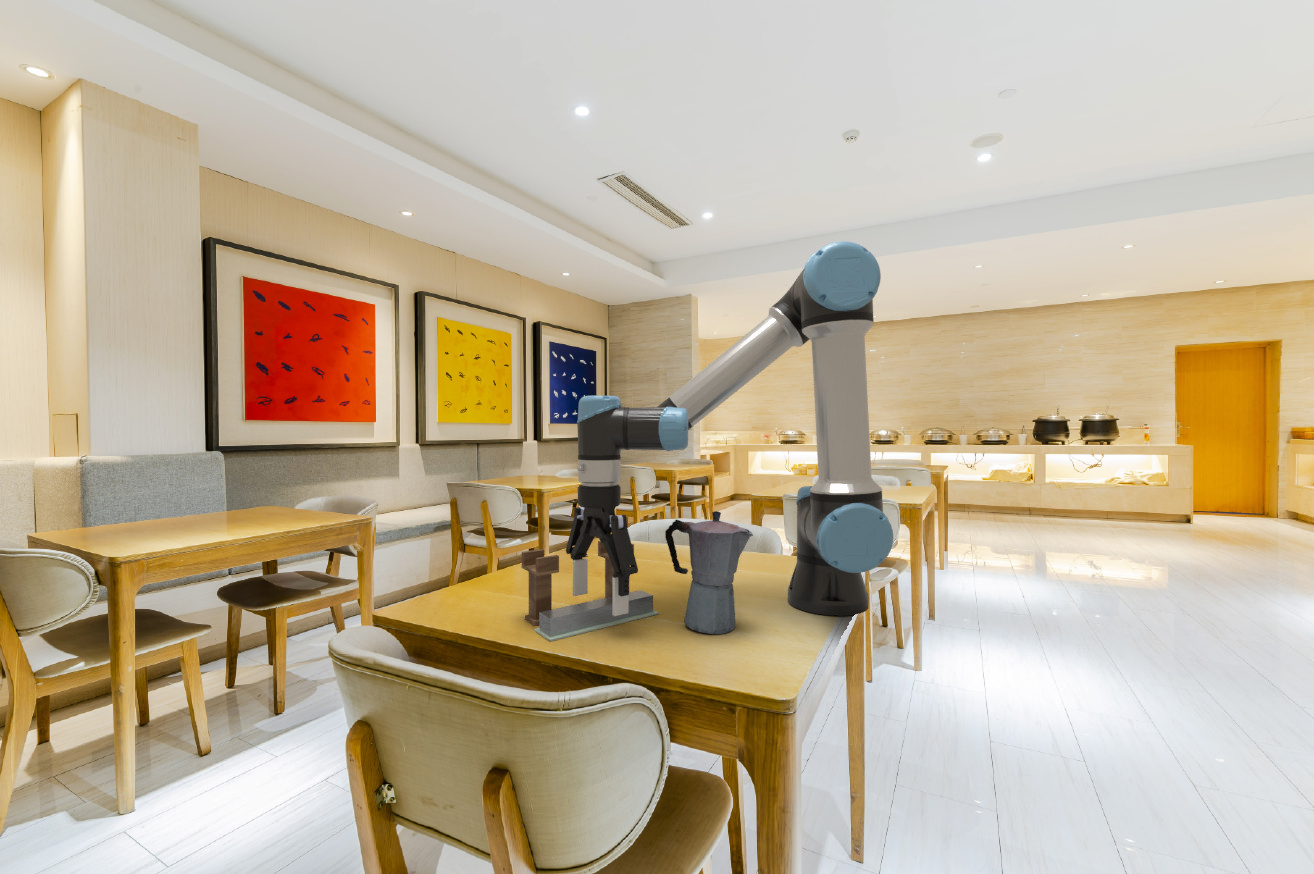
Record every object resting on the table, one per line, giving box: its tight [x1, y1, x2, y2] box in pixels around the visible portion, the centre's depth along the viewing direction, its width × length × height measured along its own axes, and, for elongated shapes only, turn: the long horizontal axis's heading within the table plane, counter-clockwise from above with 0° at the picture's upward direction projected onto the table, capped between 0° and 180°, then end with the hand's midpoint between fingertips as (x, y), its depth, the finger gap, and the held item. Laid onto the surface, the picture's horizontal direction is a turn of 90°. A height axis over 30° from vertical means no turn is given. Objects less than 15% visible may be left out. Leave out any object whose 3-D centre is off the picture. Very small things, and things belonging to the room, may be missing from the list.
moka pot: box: [664, 510, 754, 635], centre depth 95 cm, size 10×15×20 cm, turn 79°
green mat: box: [533, 609, 660, 642], centre depth 98 cm, size 6×22×1 cm, turn 127°
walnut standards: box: [521, 540, 635, 627], centre depth 103 cm, size 7×20×12 cm, turn 127°
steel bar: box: [538, 589, 654, 637], centre depth 98 cm, size 4×21×3 cm, turn 128°
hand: (599, 603), depth 97 cm, fingers open, 13 cm apart
